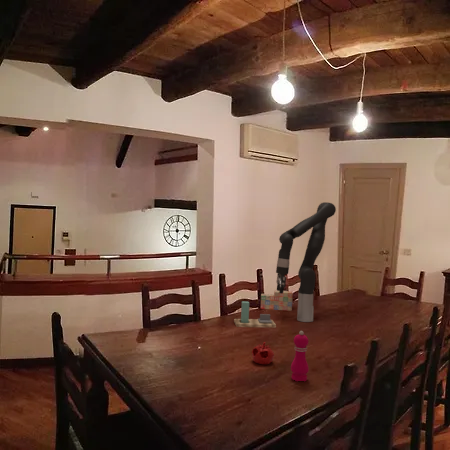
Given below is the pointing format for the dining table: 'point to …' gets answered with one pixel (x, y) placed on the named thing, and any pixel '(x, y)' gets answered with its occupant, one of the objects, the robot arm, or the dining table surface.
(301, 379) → the pepper mill
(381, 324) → the dining table surface
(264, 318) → the lid
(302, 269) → the robot arm
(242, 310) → the peg
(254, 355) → the pomegranate
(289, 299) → the stack of blocks
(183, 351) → the dining table surface
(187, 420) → the dining table surface
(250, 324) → the puzzle board
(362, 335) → the dining table surface
